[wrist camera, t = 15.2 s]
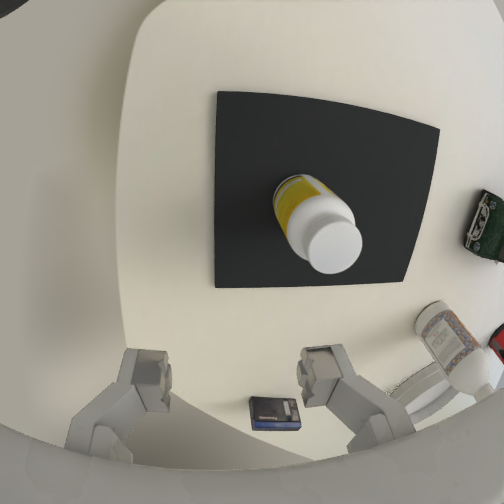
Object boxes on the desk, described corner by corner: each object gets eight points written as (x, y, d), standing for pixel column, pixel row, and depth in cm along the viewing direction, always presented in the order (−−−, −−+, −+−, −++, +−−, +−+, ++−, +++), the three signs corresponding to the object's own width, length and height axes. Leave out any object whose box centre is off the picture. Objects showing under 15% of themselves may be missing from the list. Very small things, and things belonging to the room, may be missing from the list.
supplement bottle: (267, 222, 27) (288, 280, 19) (277, 168, 25) (307, 204, 16) (318, 229, 28) (357, 284, 20) (331, 178, 26) (381, 216, 17)
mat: (215, 285, 31) (215, 288, 31) (217, 91, 22) (217, 91, 21) (400, 279, 34) (402, 281, 33) (436, 128, 24) (440, 129, 24)
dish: (368, 405, 50) (376, 422, 46) (451, 343, 44) (463, 360, 40) (398, 419, 60) (404, 432, 55) (463, 372, 54) (471, 384, 49)
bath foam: (446, 316, 40) (505, 399, 22) (416, 338, 41) (469, 428, 23) (444, 292, 36) (515, 382, 19) (410, 316, 38) (475, 416, 20)
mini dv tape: (295, 398, 45) (302, 426, 39) (292, 403, 45) (298, 430, 40) (251, 396, 43) (255, 426, 37) (248, 400, 43) (252, 430, 38)
